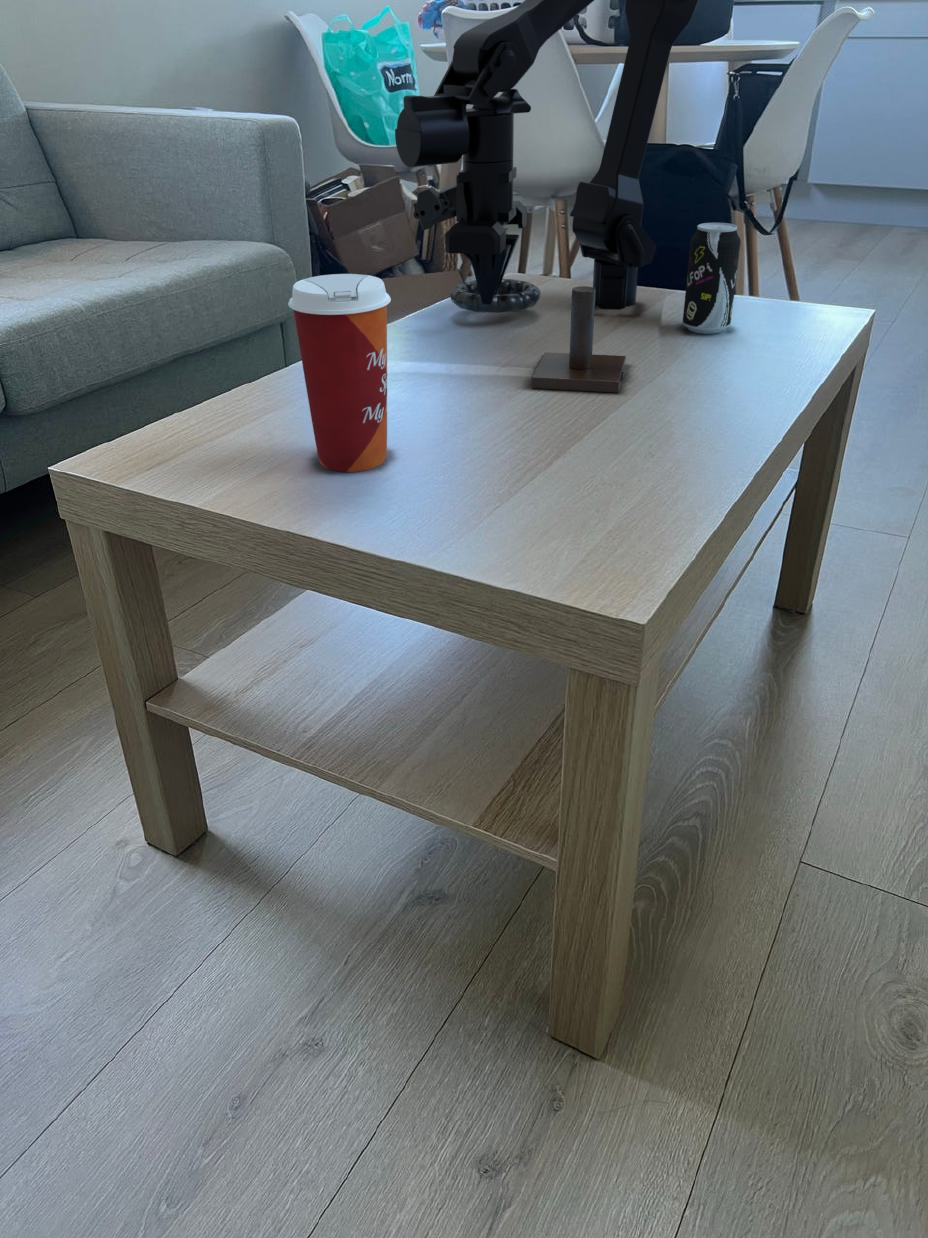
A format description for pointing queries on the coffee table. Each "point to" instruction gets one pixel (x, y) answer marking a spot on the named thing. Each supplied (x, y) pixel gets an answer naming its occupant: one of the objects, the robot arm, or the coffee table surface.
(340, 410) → the coffee cup
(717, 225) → the beverage can
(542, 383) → the peg stand
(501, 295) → the ring
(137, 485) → the coffee table surface
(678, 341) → the coffee table surface
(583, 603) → the coffee table surface
